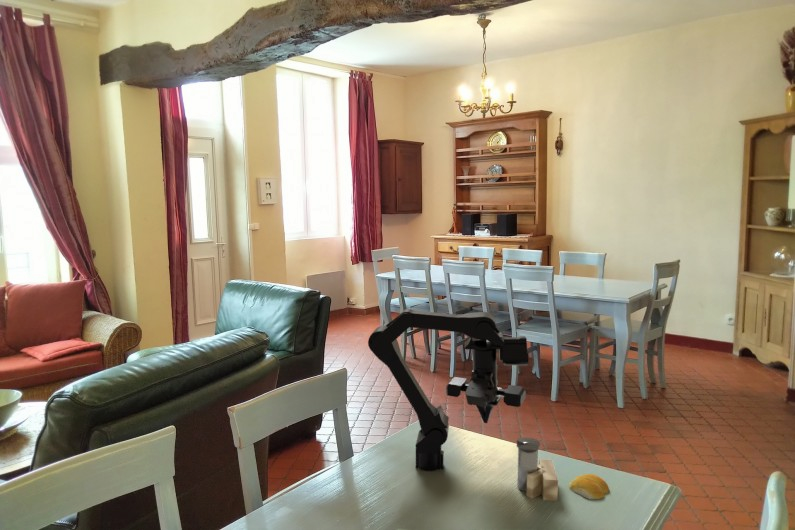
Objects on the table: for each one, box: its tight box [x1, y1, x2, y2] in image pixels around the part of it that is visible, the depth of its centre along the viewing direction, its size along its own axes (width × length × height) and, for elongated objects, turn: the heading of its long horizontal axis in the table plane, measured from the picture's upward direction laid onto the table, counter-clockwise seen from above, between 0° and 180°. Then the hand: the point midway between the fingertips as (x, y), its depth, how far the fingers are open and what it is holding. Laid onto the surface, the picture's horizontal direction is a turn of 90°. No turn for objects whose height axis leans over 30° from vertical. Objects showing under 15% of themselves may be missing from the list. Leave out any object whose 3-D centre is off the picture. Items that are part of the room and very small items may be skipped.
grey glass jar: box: [516, 437, 541, 493], centre depth 131 cm, size 5×5×11 cm
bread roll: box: [568, 473, 610, 500], centre depth 132 cm, size 8×9×4 cm
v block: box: [526, 458, 559, 502], centre depth 131 cm, size 6×10×5 cm, turn 172°
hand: (486, 422), depth 142 cm, fingers closed
